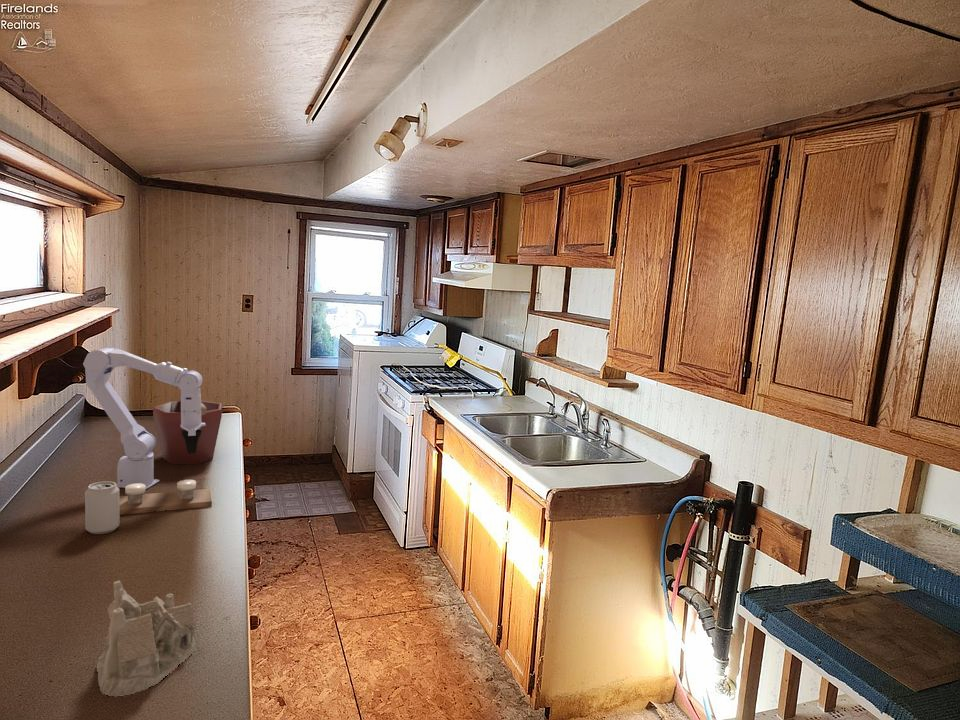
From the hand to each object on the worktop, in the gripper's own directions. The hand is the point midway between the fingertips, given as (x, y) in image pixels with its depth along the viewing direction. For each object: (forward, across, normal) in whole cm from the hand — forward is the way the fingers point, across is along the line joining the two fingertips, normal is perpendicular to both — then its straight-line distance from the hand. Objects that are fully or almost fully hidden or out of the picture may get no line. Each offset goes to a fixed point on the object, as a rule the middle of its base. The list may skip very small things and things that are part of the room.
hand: (191, 452), depth 192 cm
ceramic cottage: (+11, -93, +9) cm, 94 cm away
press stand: (+10, -15, +8) cm, 20 cm away
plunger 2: (+9, -15, +2) cm, 17 cm away
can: (+10, -30, +22) cm, 38 cm away
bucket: (+10, +31, +1) cm, 32 cm away
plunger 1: (+8, -15, +15) cm, 23 cm away
